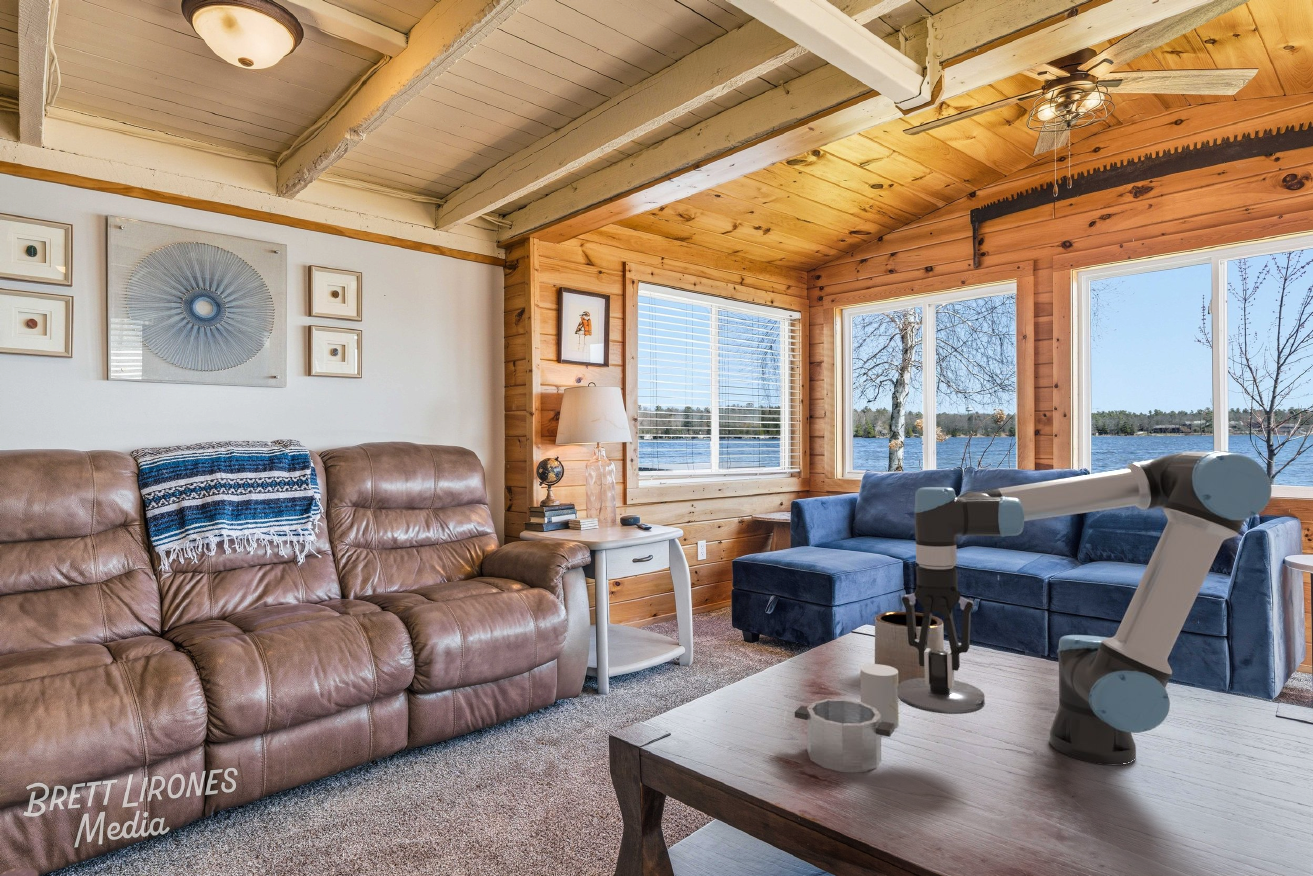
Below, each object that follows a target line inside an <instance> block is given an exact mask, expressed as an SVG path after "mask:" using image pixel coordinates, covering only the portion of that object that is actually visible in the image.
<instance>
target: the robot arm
mask: <svg viewBox="0 0 1313 876" xmlns="http://www.w3.org/2000/svg"><path fill="white" fill-rule="evenodd" d="M955 491H956V490H955V489H954V488H952V487H948V486H947V487H944V486H943V487H942V486H941V487H940V486H939V487H937V486H927V487H926V486H925V487H920V488H918V489H916V491H915V493H914V494H915V495H914V499H915V500H914V502H915V503H914V510H913V512H914V525H915V526H914V529H915V563H917V564H918V565H917V566H916V567H915V569H916V571H915V573H916V588H915V590H914V592H913V593H911V594H910V593H909V594H905V595H903V596H902V598H901V602H902V604H903V606H904V608H905V612H906V619H907V631H908V642H909V645H910V646H914V647H916V648H917V649H918V651H919V665H920V666H924V667H925V685H929V684H930V667H929V652H930V651H931V649H930V648H926V646H927V641H928V635H929V629H930V623H931V617H932V616H933V614H940V615H942V618H943V622H944V625H945V630H946V634H947V639H948V642H949V648H950V650H949V651H948V654H947V666H948V688H951V689H952V688H953V686H954V680H955V672H958V671H959V669H960V667H961V663H960V662H961V661H960V659H961V657H960V654H962V653H967V652H969V649H970V644H971V643H970V641H971V640H970V638H971V637H970V636H971V635H970V634H971V616H972V615H971V612H972V610H973V608H974V606H975V601H974V599H973V600H972V599H967V598H965V597H963V596H962V595H961V593H960V591H959V587H958V583H959V582H958V569H957V567H956V565H957V564H958V559H957V558H958V556H957V551H958V550H957V536H961V537H964V536H975V537H976V536H977V537H978V536H980V537H982V536H986V537H987V536H988V537H989V536H990V537H1001V538H1004V537H1009V536H1011V537H1014V536H1019V535H1020V534H1022V532H1023V531H1024V526H1025V522H1026V521H1027V522H1029V521H1034V520H1041V519H1048V518H1056V517H1064V516H1071V515H1077V514H1084V513H1091V512H1099V511H1106V510H1112V509H1113V510H1114V509H1120V508H1127V507H1136V508H1137V509H1140V510H1148V509H1149V510H1150V509H1158V508H1159V509H1162V508H1163V509H1162V511H1163V513H1164V515H1165V516H1166V518H1167V523H1166V525H1165V527H1164V529H1163V532H1162V534H1161V536H1160V538H1159V540H1158V542H1157V545H1156V546H1155V549H1154V551H1153V553H1152V555H1151V557H1150V560H1149V561H1148V564H1147V566H1146V568H1145V571H1144V572H1143V575H1142V577H1141V579H1140V581H1139V583H1138V586H1137V588H1136V589H1135V591H1134V594H1133V596H1132V599H1131V600H1130V602H1129V604H1128V607H1127V609H1126V611H1125V614H1124V616H1123V617H1122V620H1121V623H1120V625H1119V626H1118V629H1117V631H1116V633H1115V635H1114V636H1112V637H1107V636H1098V635H1086V634H1085V635H1083V634H1070V635H1064V636H1061V637H1060V638H1059V639H1058V649H1057V654H1058V709H1057V711H1056V714H1055V716H1054V719H1053V722H1052V724H1051V728H1050V730H1049V743H1050V745H1051V746H1052V747H1053V748H1054V749H1055V750H1056V751H1058V752H1060V753H1062V754H1064V755H1066V756H1069V757H1070V758H1073V759H1077V760H1080V761H1083V762H1088V763H1092V764H1098V763H1100V764H1099V765H1106V764H1123V763H1128V762H1131V761H1132V760H1134V759H1135V758H1137V747H1136V746H1137V745H1136V743H1135V741H1134V737H1133V735H1132V734H1135V733H1136V734H1137V733H1139V734H1140V733H1144V732H1148V731H1152V730H1154V729H1156V728H1157V727H1159V726H1160V725H1161V724H1162V723H1163V722H1164V721H1165V720H1166V718H1167V716H1168V715H1169V712H1170V706H1171V702H1170V701H1171V700H1170V697H1169V694H1168V692H1167V689H1166V687H1167V685H1168V683H1169V682H1170V681H1169V680H1170V678H1171V677H1172V675H1173V674H1172V673H1173V670H1172V668H1171V666H1170V663H1169V662H1168V658H1169V656H1170V654H1171V652H1172V650H1173V647H1174V645H1175V643H1176V642H1177V640H1178V639H1177V638H1178V637H1179V635H1180V633H1181V631H1182V628H1183V627H1184V624H1185V622H1186V619H1187V617H1188V616H1189V613H1190V612H1191V610H1192V607H1193V605H1194V603H1195V602H1196V599H1197V598H1198V595H1199V592H1200V590H1201V588H1202V586H1203V584H1204V582H1205V580H1206V578H1207V575H1208V573H1209V571H1210V570H1211V567H1212V565H1213V563H1214V560H1215V558H1216V556H1217V555H1218V552H1219V550H1220V548H1221V546H1222V544H1223V542H1225V540H1229V539H1231V538H1234V537H1237V536H1238V535H1239V533H1240V531H1241V529H1242V527H1243V525H1244V523H1245V520H1246V519H1251V518H1253V517H1255V516H1257V515H1259V514H1260V513H1261V512H1262V511H1264V510H1265V508H1266V507H1267V506H1268V504H1269V502H1270V500H1271V498H1272V492H1273V491H1272V482H1271V479H1270V476H1268V474H1267V472H1266V470H1265V468H1264V467H1263V466H1262V465H1261V464H1259V462H1258V461H1257V460H1254V459H1253V458H1252V457H1249V456H1247V455H1243V454H1240V453H1235V452H1230V451H1227V450H1220V451H1218V450H1217V451H1199V450H1198V451H1195V450H1189V451H1188V450H1187V451H1182V452H1177V453H1173V454H1172V453H1171V454H1169V455H1164V456H1161V457H1156V458H1152V459H1147V460H1142V461H1137V462H1131V463H1128V464H1127V466H1126V468H1123V469H1118V470H1111V471H1105V472H1098V473H1091V474H1086V475H1085V474H1084V475H1078V476H1072V477H1066V478H1059V479H1052V480H1045V481H1039V482H1033V483H1027V484H1020V485H1013V486H1007V487H999V488H997V489H987V490H981V491H974V490H970V491H965V492H962V493H960V494H959V495H958V496H957V494H956V492H955ZM916 600H917V601H918V603H919V604H920V605H921V607H922V608H923V613H922V614H923V620H922V626H921V632H920V638H919V640H917V632H916V620H915V613H916V611H915V610H916V609H915V604H916ZM957 604H960V605H959V606H960V607H959V608H960V609H961V611H962V613H961V614H962V615H961V636H960V637H961V639H960V644H959V639H958V635H957V631H956V626H955V621H954V616H953V615H954V613H953V609H954V608H955V606H956V605H957ZM1135 760H1136V759H1135ZM1135 760H1134V761H1135ZM1131 763H1132V762H1131ZM1128 764H1129V763H1128ZM1123 765H1124V764H1123Z"/></svg>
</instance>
